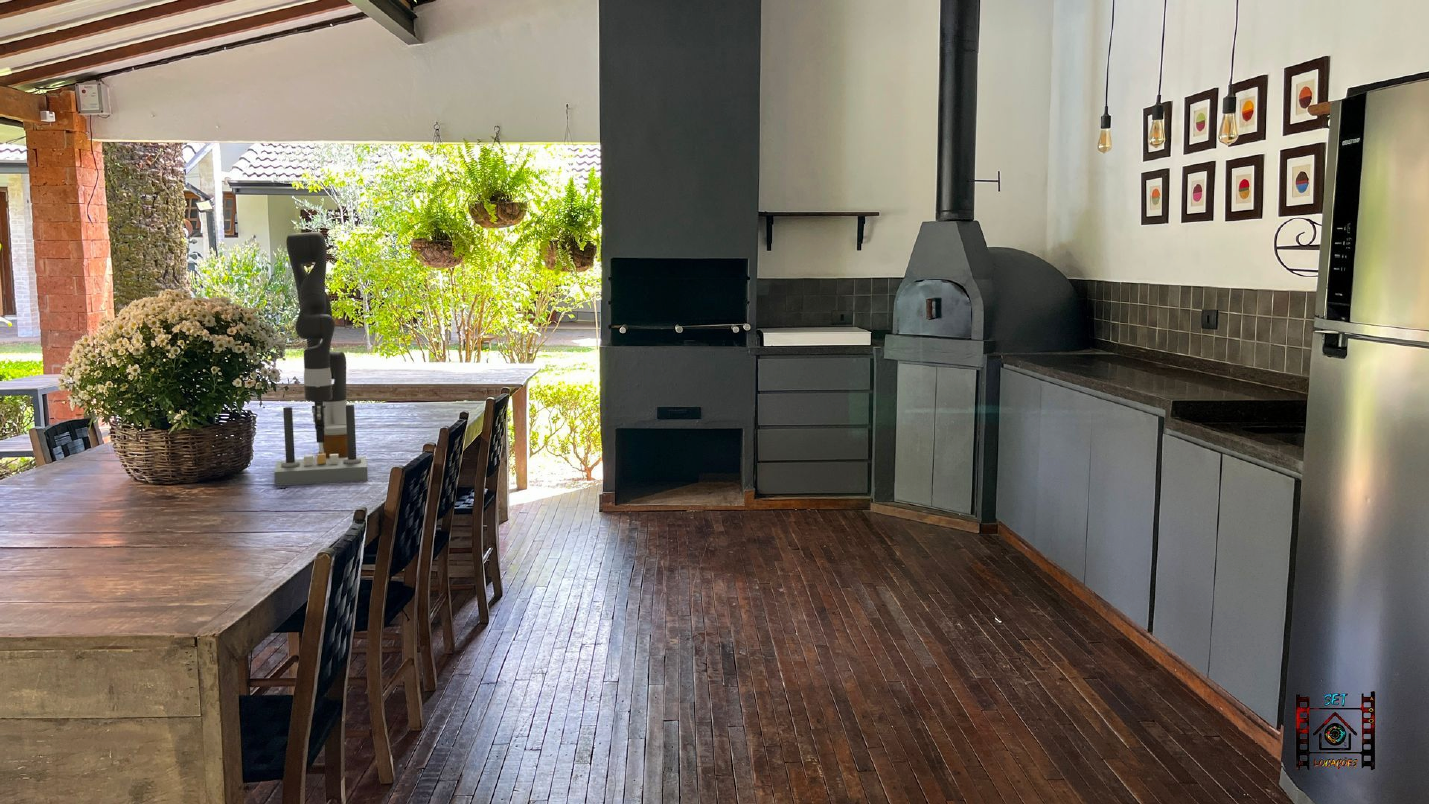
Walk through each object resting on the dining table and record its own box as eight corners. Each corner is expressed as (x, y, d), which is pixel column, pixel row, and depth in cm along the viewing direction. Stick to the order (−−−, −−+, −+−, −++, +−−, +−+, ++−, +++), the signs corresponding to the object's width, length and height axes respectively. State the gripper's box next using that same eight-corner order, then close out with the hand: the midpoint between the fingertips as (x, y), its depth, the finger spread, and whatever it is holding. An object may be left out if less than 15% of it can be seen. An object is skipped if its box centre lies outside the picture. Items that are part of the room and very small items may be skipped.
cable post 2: (343, 461, 320) (340, 404, 317) (361, 460, 321) (358, 403, 319) (343, 464, 315) (340, 406, 313) (361, 463, 317) (359, 406, 314)
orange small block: (317, 462, 316) (316, 453, 316) (326, 462, 317) (325, 453, 316) (317, 463, 314) (316, 455, 314) (325, 463, 315) (325, 454, 315)
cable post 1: (281, 464, 314) (278, 406, 312) (300, 463, 316) (297, 406, 313) (280, 467, 310) (277, 409, 307) (299, 466, 311) (296, 408, 309)
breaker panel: (277, 474, 320) (276, 452, 319) (366, 469, 328) (365, 447, 327) (274, 485, 305) (273, 463, 304) (367, 480, 313) (366, 458, 312)
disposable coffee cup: (346, 467, 330) (345, 428, 329) (315, 466, 331) (314, 428, 329) (357, 461, 340) (355, 423, 338) (327, 460, 340) (325, 423, 338)
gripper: (304, 381, 317) (307, 438, 320) (303, 386, 305) (306, 446, 307) (331, 380, 319) (334, 437, 322) (331, 385, 307) (334, 445, 310)
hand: (320, 442), depth 315 cm, fingers closed
